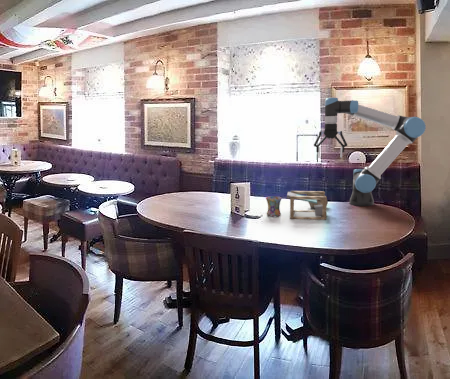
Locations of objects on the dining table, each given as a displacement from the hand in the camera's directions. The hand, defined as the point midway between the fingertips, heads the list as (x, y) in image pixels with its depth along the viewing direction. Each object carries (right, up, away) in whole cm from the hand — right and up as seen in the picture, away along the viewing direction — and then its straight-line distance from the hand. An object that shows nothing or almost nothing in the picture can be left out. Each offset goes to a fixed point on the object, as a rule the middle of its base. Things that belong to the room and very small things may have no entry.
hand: (330, 157), depth 252 cm
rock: (-7, -32, +6) cm, 33 cm away
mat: (-17, -35, -15) cm, 42 cm away
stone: (-13, -32, -17) cm, 39 cm away
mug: (-37, -35, -12) cm, 52 cm away
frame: (-17, -35, -15) cm, 42 cm away
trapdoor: (-21, -26, -16) cm, 37 cm away
